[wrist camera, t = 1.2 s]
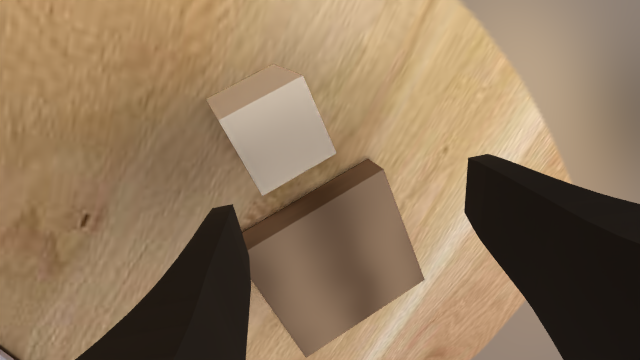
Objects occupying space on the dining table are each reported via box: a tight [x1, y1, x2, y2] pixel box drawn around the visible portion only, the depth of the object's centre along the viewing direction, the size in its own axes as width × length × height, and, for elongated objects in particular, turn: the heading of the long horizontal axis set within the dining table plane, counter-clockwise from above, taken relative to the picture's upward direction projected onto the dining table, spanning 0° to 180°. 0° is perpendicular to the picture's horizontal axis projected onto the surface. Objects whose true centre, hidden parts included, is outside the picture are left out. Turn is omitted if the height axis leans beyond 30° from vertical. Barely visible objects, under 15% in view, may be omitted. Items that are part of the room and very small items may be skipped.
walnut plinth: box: [242, 159, 424, 358], centre depth 26 cm, size 10×10×2 cm
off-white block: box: [206, 64, 336, 196], centre depth 19 cm, size 4×4×5 cm
